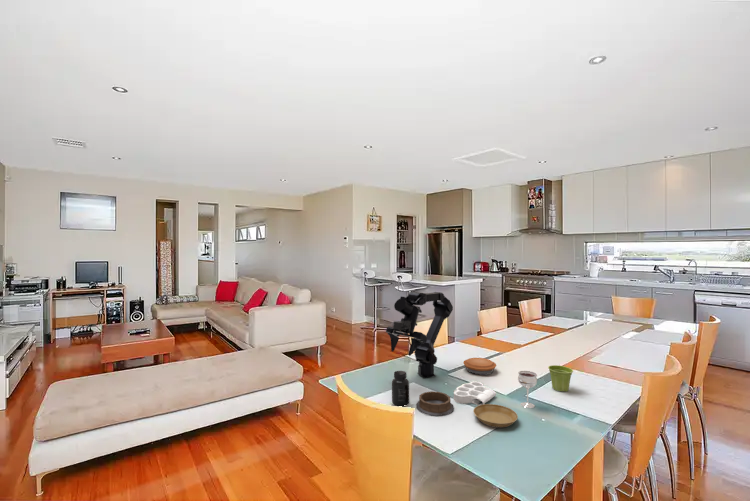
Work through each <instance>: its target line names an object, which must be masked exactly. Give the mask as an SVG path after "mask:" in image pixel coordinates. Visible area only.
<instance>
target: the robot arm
mask: <svg viewBox="0 0 750 501" xmlns="http://www.w3.org/2000/svg"><path fill="white" fill-rule="evenodd" d="M427 302H428V303H430V302H432V306H433V307H434V309H433V313H434V317H433V319H432V321H431V323H430V325H429V328H428V331H427V332H426V334H424V333H423V332H421V331H420V332H419V331H415V327H416V326H418V323H417V321H418V317H419V314H421V313H422V309H421V306H423V305H425V304H426V303H427ZM452 304H453V303H452V302H451V301H450V299H448V298H447V297H446V296H445V294H444V293H443V292H439V291H433V292H420V291H419V292H418V291H410V292H408V294H407V295H406V296H402V295H401V296H400V297H399V298H398V299H397V300H396V301H395V302H394V304H393V305H394V306H393V308H394V310H395V311H397V312H398V313H399V314H401V315H402V316H403V317H402V318H401V319H400V321H399V320H396V321H395V320H394V321H393V326H388V327H386V330H385V333H387V335H388V336H389V339H390V347H391V348H390V350H391V352H394V351H395V349H396V347H397V344H398V342H399V340H400V336H403V337H408V338H410V340H411V342H410V347H409V350H408V353H407V355H408V356H409V357H410V356H412V355H413V353H414V357H415V361H416V362H418V366H417V367H418V370H417V374H418V375H419V376H420V377H421V378H424V379H426V378H431V377H432V378H434V377H436V375H437V374H435V367H434V366H435V365H436V364H437V362H438V357H437V356H436V354H435V343H436V340H437V338H438V336H439V333H440V331H441V328H442V326H443V323H444V321H445V320H446V319H447V318H448V317H450V315H451V313H452V312H453V310H454V306H453V305H452Z"/></svg>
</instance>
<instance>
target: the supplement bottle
mask: <svg viewBox="0 0 750 501" xmlns="http://www.w3.org/2000/svg"><path fill="white" fill-rule="evenodd" d="M391 402H392V405H393V406H395V407H399V406H403V407H405V406H404V405H407V406H409V404H410V380H408V378H407V371H404V370H396V371H394V372H393V379H392V380H391Z"/></svg>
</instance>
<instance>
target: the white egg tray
mask: <svg viewBox="0 0 750 501" xmlns="http://www.w3.org/2000/svg"><path fill="white" fill-rule="evenodd" d="M496 395H497V392H496V391H495V390H493V389H492V388H490V387H486V386H484V383H482V382H480V381H470V382H467V383H463V384H461V385H460V386H456V388H455V389H454V390H453V401H454V402H455V403H457V404H461V405H464V404H465V405H467V404H473V405H477V406H479V405H483V404H487V402H489V401H491V399H493V398H494V397H496Z"/></svg>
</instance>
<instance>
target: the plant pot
mask: <svg viewBox="0 0 750 501" xmlns="http://www.w3.org/2000/svg"><path fill="white" fill-rule="evenodd" d="M547 369H548V371H549V374H550V381H551V388H552V389H553V390H555V391H557V392H569V390H570V383H571V377H572V375H573V373H574V370H573V369H572V368H570V367H567V366H564V365H558V364H557V365H556V364H555V365H554V364H553V365H548V366H547Z"/></svg>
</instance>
